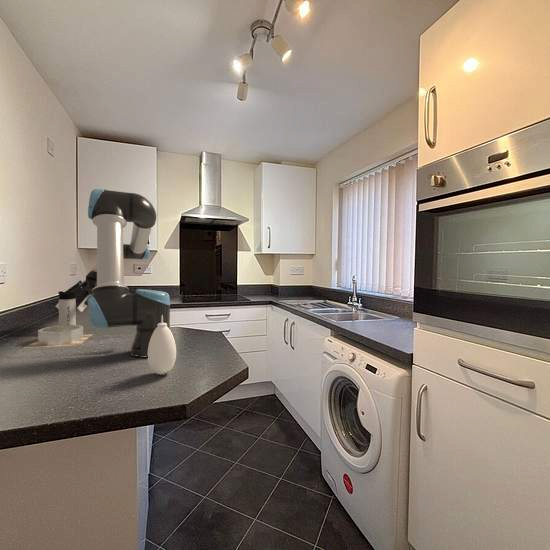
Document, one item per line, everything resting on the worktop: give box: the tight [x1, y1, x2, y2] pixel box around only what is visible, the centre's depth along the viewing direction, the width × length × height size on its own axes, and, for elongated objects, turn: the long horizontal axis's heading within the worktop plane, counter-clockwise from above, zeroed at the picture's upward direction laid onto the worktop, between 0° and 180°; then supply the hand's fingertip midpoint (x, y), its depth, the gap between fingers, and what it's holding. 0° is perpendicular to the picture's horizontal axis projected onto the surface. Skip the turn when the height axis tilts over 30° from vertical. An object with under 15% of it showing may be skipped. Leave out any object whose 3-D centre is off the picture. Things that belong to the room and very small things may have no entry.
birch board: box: [23, 333, 94, 349], centre depth 120 cm, size 18×18×1 cm
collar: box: [37, 324, 84, 346], centre depth 120 cm, size 14×14×5 cm
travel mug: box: [57, 290, 77, 326], centre depth 133 cm, size 6×7×20 cm
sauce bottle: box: [147, 315, 177, 374], centre depth 88 cm, size 8×8×18 cm
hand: (68, 309), depth 134 cm, fingers open, 13 cm apart
